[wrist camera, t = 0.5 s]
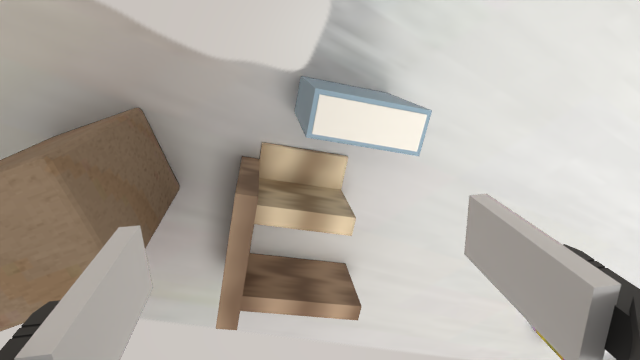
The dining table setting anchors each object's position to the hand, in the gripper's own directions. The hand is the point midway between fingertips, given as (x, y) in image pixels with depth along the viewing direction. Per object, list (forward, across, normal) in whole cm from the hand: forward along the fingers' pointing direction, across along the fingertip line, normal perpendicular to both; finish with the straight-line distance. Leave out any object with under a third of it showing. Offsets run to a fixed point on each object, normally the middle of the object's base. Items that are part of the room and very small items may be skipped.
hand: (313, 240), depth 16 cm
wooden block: (+30, -18, -4) cm, 36 cm away
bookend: (+30, +2, -7) cm, 31 cm away
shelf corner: (+30, +1, -13) cm, 33 cm away
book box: (+30, +7, +1) cm, 31 cm away
